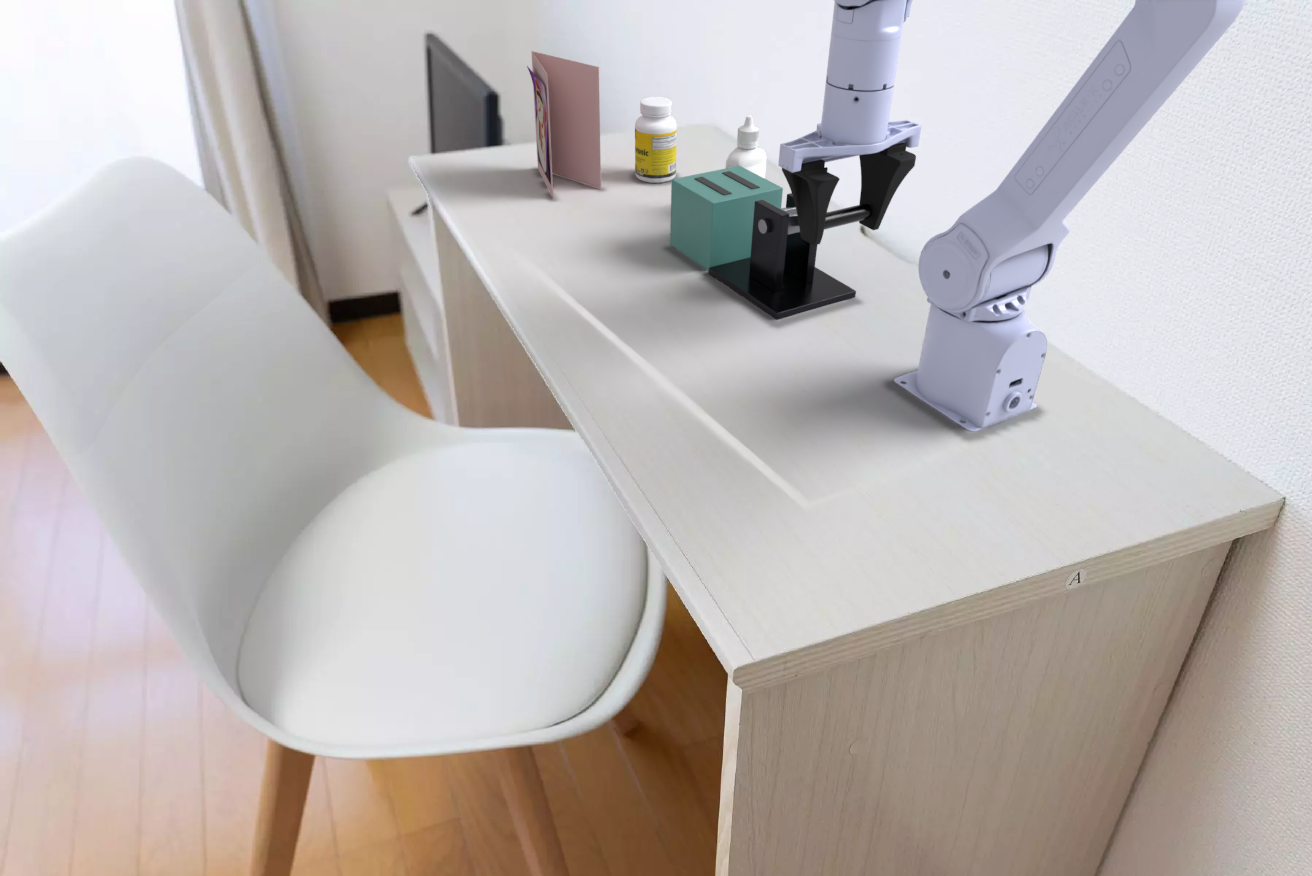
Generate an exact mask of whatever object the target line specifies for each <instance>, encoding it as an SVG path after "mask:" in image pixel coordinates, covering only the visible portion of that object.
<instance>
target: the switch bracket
mask: <svg viewBox="0 0 1312 876" xmlns="http://www.w3.org/2000/svg"><path fill="white" fill-rule="evenodd" d="M787 207H796V205H795V201H794V198H793V195H792V192H790V193H786V201H785V208H787ZM788 224H789V214H788V213H787V212H785V211H783V210H781V209H779V208H777V207H775V206H774V205H772V204H770V203H768V202H766V201H764V200H758V201H755V205H754V218H753V231H752V245H751V257H749V258H745V259H741V260H737V261H733V262H729V263H725V264H721V265H717V266H713V267H709V270H707V272H708V275H710V276H711V277H712V278H714V279H715V280H717V281H718V282H720V283H721V284H723V285H724V286H726V287H727V288H729V289H730V290H732V291H733V292H735V294H737V295H738V296H741V297H742V298H743V299H745V300H746V301H748V302H749V303H751V304H752V305H753V306H754V307H755V306H756V307H757V308H758V309H760V310H761V311H763V312H764V313H766V314H767V315H768V316H770V317H771V318H773V319H774V320H776V321H778V320H781V319H785V318H788V317H792V316H796V315H799V314H803V313H807V312H809V311H813V310H816V309H819V308H823V307H826V306H831V305H834V304H837V303H841V302H843V301H848V300H851V299H854V298H856V296H857V295H856V294H857V290H855V289H854V288H852V287H850V286H849V285H847V284H845V283H843V282H841V281H840V280H838V279H836V278H835V277H834V276H831V275H830V274H828V273H826V272H824V271H823V270H821V269H820V268H818V267H816V260H817V251H818V245H812V244H810V243H809V242H807V241H805V240H803V239H801V235H800V232H797V233H793V234H789V235H787V234H788Z"/></svg>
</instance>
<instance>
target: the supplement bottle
mask: <svg viewBox="0 0 1312 876" xmlns="http://www.w3.org/2000/svg"><path fill="white" fill-rule="evenodd" d="M672 108H673V101H672V100H671V99H669V98H666V97H661V96H650V97H649V96H648V97H645V98H643V99H641V100H640V102H639V113H640V114H641V116H639V117H638V118H637V119H636V121H635V123H634V174H635V178H637V179H638V180H640V181H641V182H645V183H650V184H660V183H661V184H662V183H667V182H671V181H672V179H675V178H676V175H677V142H678V141H677V136H678V134H677V133H678V124H677V121H676V119H675V118H674V117H673V116H671V115H672V110H673V109H672Z"/></svg>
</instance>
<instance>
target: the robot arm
mask: <svg viewBox="0 0 1312 876" xmlns="http://www.w3.org/2000/svg"><path fill="white" fill-rule="evenodd" d="M833 1H834V4H833V5H834V6H833V14H832V23H831V31H830V39H829V40H830V42H829V47H828V48H829V49H828V58H827V67H826V77H825V86H824V88H825V89H824V95H823V105H822V111H821V113H822V114H821V122H819V123H817V124H816V130H815V131H812V132H810V133H807V134H805V135H803V136H801V137H799V138H797V139H794V140H791V141H788V142H783V143H780V145H779V153H778V164H777V165H778V167H780V168H781V172H782V173H783V175H784V177H785V180H786V182H787V184H788V186H789V189H790V191H791V192H790V193H792V195H793V198H794V201H795V205H796V210H797V215H798V221H799V228H800V235H801V239H803V240H805V241H807V242H809V243H810V244H812V245H817V246H818V245H820V244H821V242H822V239H823V236H824V231H825V230H824V226H825V220H826V214H827V212H828V209H829V206H830V202H831V199H832V197H833V194H834V192H835V189H836V187H837V185H838V183H839V181H840V177H838V176H837V175H834V174H832V173H831V172H828V169H829V168H828V167H827V166H826V167H825V164H826V163H829V162H834V161H839V160H844V159H849V158H853V157H858V156H859V157H858V158H859V165H860V195H859V204H858V205H861V204H865V203H867V204H869V205H870V206H871V209H872V215H871V217H870V218H869V219H866V220H861V221H858V223H859V224H860V225H862V226H864V227H866V228H868V229H870V230H871V231H878V230H879V228H880V226H881V224H882V222H883V220H884V217H885V214H886V212H887V210H888V208H889V205H890V204H891V202H892V199H893V197H894V195H895V193H896V192H897V190H898V189H899V187H900V186H901V184H902V182H903V181H904V179H905V178H906V177H907V175H908V174H909V173H910V172H911V171H912V169H913V168H915V166H916V160H917V155H916V154H915V153H913V152H910V151H908V150H907V148H909V149H910V148H911V149H912V148H916V147H919V144H920V137H921V131H922V124H919V123H916V122H914V121H911V120H908V119H903V120H896V121H889V120H890V113H891V106H892V100H893V94H894V88H895V81H896V80H895V79H896V74H897V69H898V68H897V67H898V61H899V54H900V49H901V42H902V34H903V27H904V23H906V21H907V18H909V17H910V14H911V8H912V3H913V0H833ZM1245 3H1246V0H1134V5H1133V7H1132V9H1130V11H1129V12H1128V14H1127V15H1126V17H1124V19H1123V20H1122V21H1121V23H1120V25H1119V26H1118V27H1117V28H1116V30H1115V31H1114V32H1113V34H1112V35H1111V36H1110V38H1109V39H1108V40H1107V42H1106V43H1105V44H1104V45H1103V47H1102V49H1100V51H1099V53H1097V54H1096V56H1095V58H1094V59H1093V60H1092V62H1091V63H1090V65H1089V66H1088V67H1087V68H1086V70H1085V71H1084V72H1083V74H1082V75H1081V76H1080V77H1079V79H1078V80H1077V82H1076V83H1075V85H1073V87H1072V88H1071V90H1070V91H1069V92H1068V94H1067V95H1066V96H1065V98H1064V99H1063V100H1062V102H1060V104H1059V105H1058V107H1057V108H1056V110H1055V111H1054V112H1053V114H1052V115H1051V116H1050V117H1049V119H1048V120H1047V122H1046V123H1045V124H1044V125H1043V127H1042V128H1041V129H1040V131H1039V132H1038V133H1037V135H1036V136H1035V138H1034V139H1033V140H1032V142H1031V143H1030V144H1029V145H1028V147H1027V148H1026V149H1025V151H1024V152H1023V153H1022V155H1021V156H1020V157H1019V159H1018V160H1017V161H1016V163H1015V164H1014V166H1012V168H1011V169H1010V171H1009V172H1008V173H1007V174H1006V176H1005V177H1004V178H1003V179H1002V182H1000V183H999V185H998V187H997V188H996V189H995V190H994V191H993V192H991V193H990V194H988V195H987V196H986V197H984V198H983V199H982V200H980V201H978V202H977V203H975V204H974V205H972V207H970V208H968V210H966V211H964V213H962V214H961V215H959V217H958V218H957V219H956V221H955V222H954V224H953V225H952V226H951V227H950V228H948V229H947V230H945V231H943V232H940V233H938V234H935V235H934V236H932V237H931V238H930V239H928V241H926V243H925V245H923V247H922V249H921V251H920V255H919V258H918V277H919V282H920V285H921V287H922V290H923V291H924V294H925V295H926V296H927V297H926V302H927V303H929V311H928V314H927V315H928V316H927V321H926V326H925V331H924V336H923V339H922V345H921V351H920V356H919V360H918V361H919V362H918V365H917V366H918V367H917V370H914V371H911V372H908V373H905V374H902V375H900V376H897V377H894V378H893V382H894V383H895V384H897V385H898V386H900V387H901V388H903V389H904V390H906V391H907V392H909V393H910V394H912V395H914V397H917V398H918V399H920V400H921V401H923V402H924V403H925V404H927V405H929V406H930V407H931V408H933V409H935V410H936V411H938V412H940V413H941V414H942V415H944V416H945V417H947V418H948V419H950V420H951V421H953V422H955V423H956V424H957V425H959V426H961V427H962V428H963V429H965V430H966V431H968V432H972V433H975V432H979V431H980V430H983V429H986V428H988V427H990V426H993V425H995V424H998V423H1001V422H1003V421H1006V420H1008V419H1011V418H1014V417H1016V416H1019V415H1021V414H1023V413H1026V412H1029V411H1032V410H1034V409H1036V408H1037V406H1038V405H1037V403H1036V402H1034V398H1035V395H1036V391H1037V388H1038V383H1039V380H1040V376H1041V373H1042V371H1043V366H1044V362H1045V359H1046V355H1047V351H1048V339H1047V336H1046V334H1045V333H1044V332H1043V331H1042V330H1041V329H1040V328H1038V327H1037V326H1036V325H1034V323H1033V322H1031V320H1030V319H1029V317H1028V316H1027V314H1026V311H1025V309H1024V307H1025V304H1026V301H1028V300H1029V298H1030V295H1031V294H1030V293H1031V290H1032V287H1033V286H1035V285H1037V284H1039V283H1041V282H1042V281H1043V280H1044V279H1045V278H1046V277H1047V276H1048V275H1049V274H1050V272H1051V270H1052V268H1053V266H1054V263H1055V258H1056V254H1057V251H1058V249H1059V247H1060V245H1061V243H1062V242H1063V240H1064V239H1065V238H1066V237H1067V236H1068V235H1069V233H1070V228H1069V225H1068V222H1067V220H1066V218H1067V217H1068V216H1069V214H1070V213H1071V212H1072V211H1073V210H1074V208H1075V207H1077V205H1078V204H1079V203H1080V202H1081V200H1082V199H1083V198H1084V197H1085V196H1086V195H1087V194H1088V192H1089V191H1090V190H1091V189H1092V188H1093V187H1094V185H1095V184H1097V182H1098V181H1099V180H1100V178H1101V177H1103V175H1104V174H1105V172H1107V170H1108V169H1109V168H1110V167H1111V166H1112V164H1114V162H1115V161H1116V160H1117V159H1118V157H1119V156H1120V155H1121V154H1122V153H1123V152H1124V151H1125V149H1126V148H1127V147H1128V146H1129V145H1130V143H1132V141H1133V140H1134V139H1135V138H1136V137H1137V136H1138V134H1139V133H1140V132H1141V131H1142V130H1143V128H1144V127H1145V126H1146V125H1147V124H1148V123H1149V122H1150V120H1151V119H1152V118H1153V117H1154V116H1155V114H1157V112H1158V111H1159V110H1160V109H1161V108H1162V106H1164V104H1165V103H1166V102H1167V101H1168V99H1169V98H1170V97H1171V96H1172V95H1173V94H1174V92H1175V91H1176V90H1177V89H1178V88H1179V87H1180V85H1181V84H1182V83H1183V82H1184V81H1185V79H1186V78H1187V77H1188V76H1189V75H1190V74H1191V72H1193V71H1194V69H1195V68H1196V67H1197V65H1198V64H1199V63H1200V62H1201V61H1202V60H1203V59H1204V57H1205V56H1206V55H1207V54H1208V53H1209V51H1210V50H1211V49H1212V48H1213V47H1214V46H1215V45H1216V44H1217V42H1218V41H1219V40H1220V39H1221V37H1223V35H1224V34H1225V33H1226V32H1227V31H1228V29H1229V28H1230V27H1231V26H1232V25H1233V24H1234V22H1235V21H1236V19H1237V18H1238V17H1239V15H1240V13H1241V12H1242V10H1243V8H1244V5H1245ZM961 421H962V422H961Z"/></svg>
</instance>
